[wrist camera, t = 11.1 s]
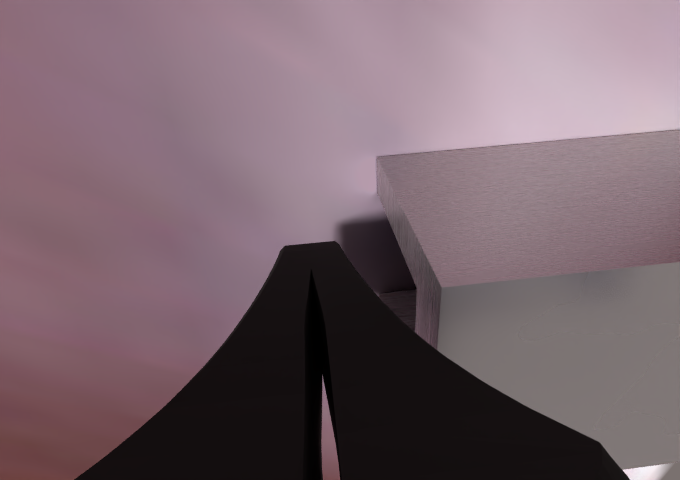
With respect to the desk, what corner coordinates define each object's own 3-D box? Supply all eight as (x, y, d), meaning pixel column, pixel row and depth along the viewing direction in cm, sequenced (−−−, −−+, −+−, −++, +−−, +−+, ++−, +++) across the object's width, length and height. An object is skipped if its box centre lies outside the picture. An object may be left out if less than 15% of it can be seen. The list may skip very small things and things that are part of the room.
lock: (379, 319, 12) (426, 495, 8) (376, 157, 10) (441, 287, 6) (649, 289, 13) (828, 442, 9) (709, 127, 10) (999, 227, 6)
